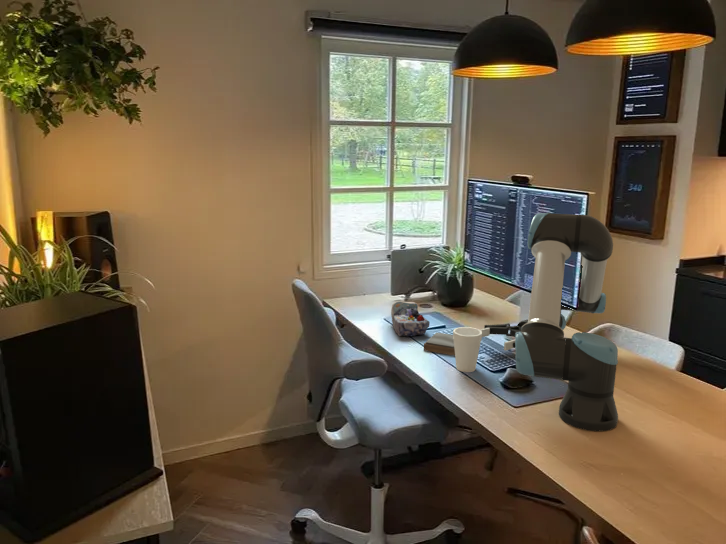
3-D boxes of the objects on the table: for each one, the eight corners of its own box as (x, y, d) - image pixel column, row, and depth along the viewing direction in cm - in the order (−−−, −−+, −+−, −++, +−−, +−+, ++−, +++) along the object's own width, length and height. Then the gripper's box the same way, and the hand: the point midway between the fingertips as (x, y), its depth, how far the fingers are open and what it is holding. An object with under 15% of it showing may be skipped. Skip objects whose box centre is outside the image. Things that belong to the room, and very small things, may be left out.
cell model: (414, 296, 238) (433, 311, 220) (413, 321, 241) (431, 338, 222) (384, 299, 234) (401, 314, 216) (383, 323, 237) (400, 341, 219)
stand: (458, 356, 203) (458, 348, 202) (423, 350, 208) (423, 342, 208) (468, 344, 214) (469, 337, 213) (435, 339, 220) (435, 331, 219)
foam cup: (479, 375, 187) (481, 337, 184) (451, 372, 188) (452, 335, 185) (480, 364, 196) (481, 328, 193) (452, 362, 197) (454, 326, 194)
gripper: (559, 349, 198) (517, 362, 187) (504, 329, 219) (463, 340, 207) (561, 328, 197) (518, 340, 185) (506, 310, 217) (464, 320, 205)
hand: (489, 340), depth 196 cm, fingers open, 13 cm apart
